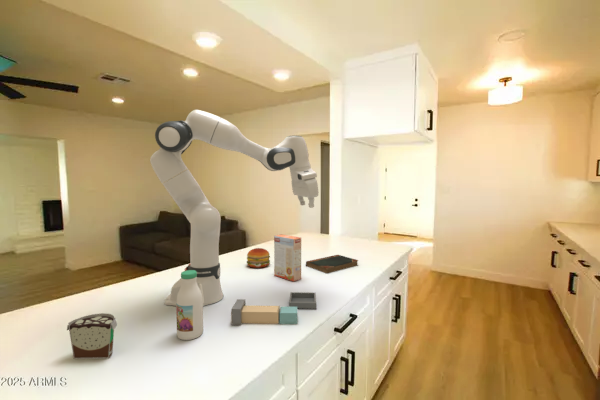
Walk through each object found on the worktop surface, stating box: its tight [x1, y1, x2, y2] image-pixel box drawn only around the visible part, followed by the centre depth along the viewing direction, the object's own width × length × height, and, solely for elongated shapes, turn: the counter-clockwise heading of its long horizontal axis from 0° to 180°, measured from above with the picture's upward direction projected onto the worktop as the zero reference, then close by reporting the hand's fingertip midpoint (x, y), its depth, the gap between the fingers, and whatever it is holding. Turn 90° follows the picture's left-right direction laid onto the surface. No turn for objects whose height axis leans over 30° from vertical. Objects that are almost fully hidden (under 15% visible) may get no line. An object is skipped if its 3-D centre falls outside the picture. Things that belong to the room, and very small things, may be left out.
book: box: [305, 254, 359, 274], centre depth 166 cm, size 17×4×25 cm
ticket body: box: [230, 298, 281, 326], centre depth 101 cm, size 16×8×6 cm, turn 89°
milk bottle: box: [175, 270, 204, 341], centre depth 91 cm, size 8×8×20 cm
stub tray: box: [288, 291, 317, 310], centre depth 115 cm, size 10×10×2 cm
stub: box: [279, 306, 298, 325], centre depth 101 cm, size 6×5×4 cm
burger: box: [246, 247, 271, 269], centre depth 166 cm, size 13×14×10 cm
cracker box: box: [273, 234, 302, 282], centre depth 145 cm, size 14×6×21 cm, turn 47°
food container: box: [66, 312, 118, 360], centre depth 82 cm, size 12×6×10 cm, turn 92°
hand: (307, 206), depth 124 cm, fingers open, 8 cm apart
